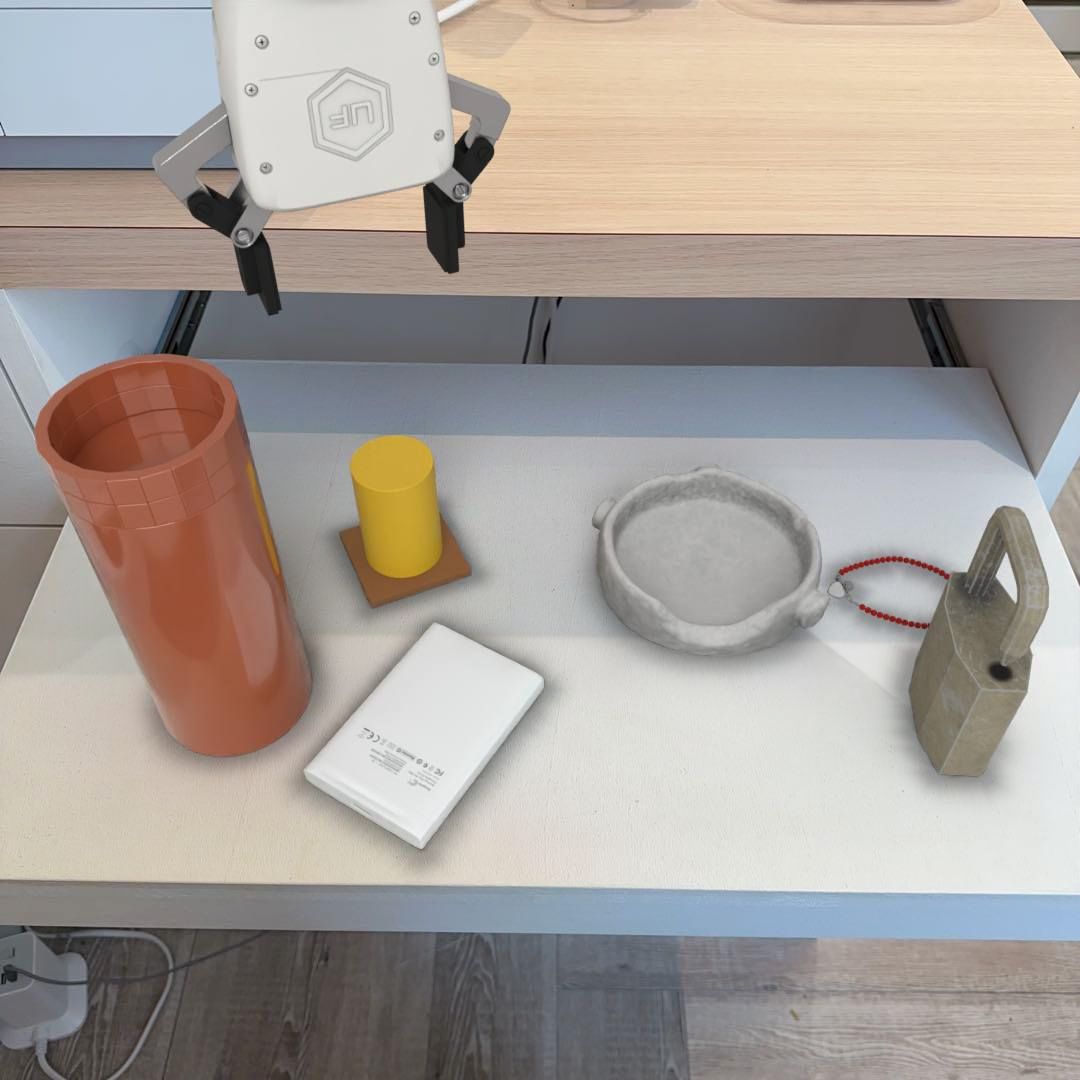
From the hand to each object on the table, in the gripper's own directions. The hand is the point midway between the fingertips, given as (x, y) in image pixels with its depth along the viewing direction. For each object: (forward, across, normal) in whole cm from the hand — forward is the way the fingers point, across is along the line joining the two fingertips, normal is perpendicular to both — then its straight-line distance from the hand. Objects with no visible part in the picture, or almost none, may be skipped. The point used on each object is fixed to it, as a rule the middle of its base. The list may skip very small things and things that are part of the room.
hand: (357, 280), depth 57 cm
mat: (+22, +1, 0) cm, 22 cm away
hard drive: (+22, -3, -14) cm, 26 cm away
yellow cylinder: (+21, +1, 0) cm, 21 cm away
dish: (+22, +18, -10) cm, 30 cm away
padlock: (+22, +26, -25) cm, 42 cm away
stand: (+22, -12, -6) cm, 26 cm away
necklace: (+22, +29, -16) cm, 39 cm away
